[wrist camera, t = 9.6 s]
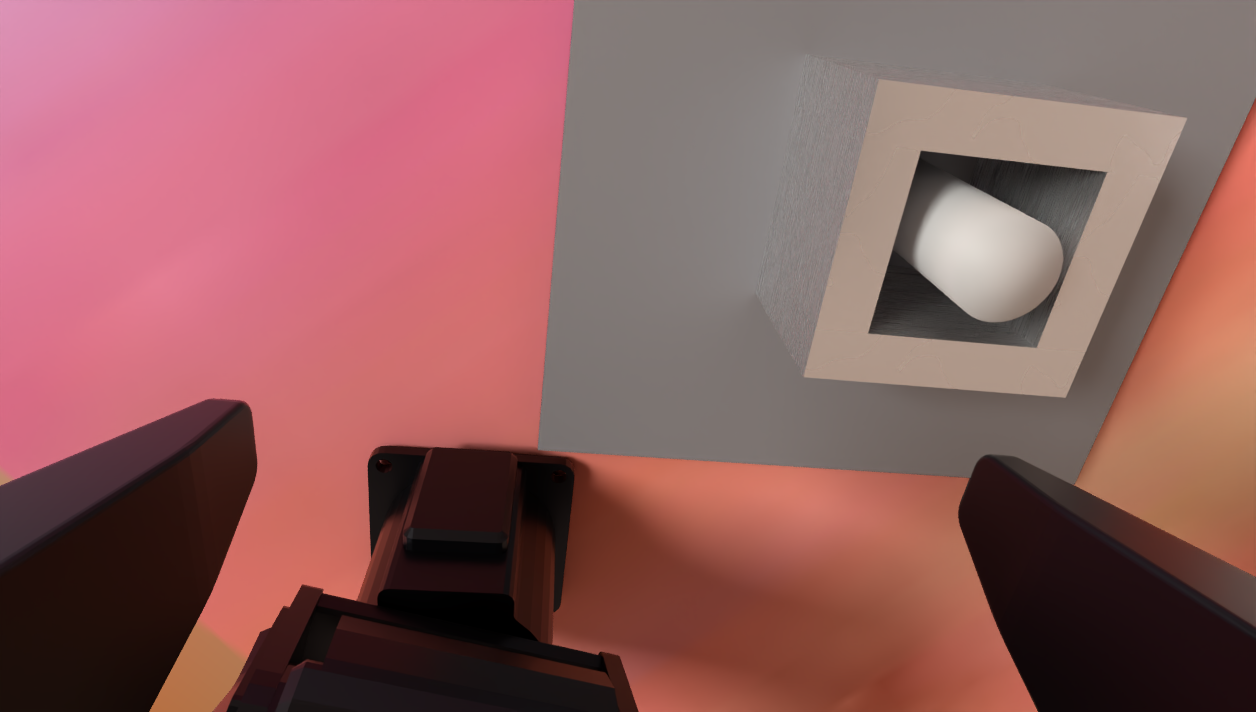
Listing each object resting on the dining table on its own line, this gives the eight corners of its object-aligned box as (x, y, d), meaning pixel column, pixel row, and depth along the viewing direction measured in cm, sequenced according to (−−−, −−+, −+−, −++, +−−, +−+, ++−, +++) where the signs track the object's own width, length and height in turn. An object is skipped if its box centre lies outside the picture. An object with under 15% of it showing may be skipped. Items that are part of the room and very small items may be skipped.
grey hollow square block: (966, 312, 22) (1065, 398, 18) (755, 293, 21) (803, 376, 17) (1046, 85, 19) (1187, 117, 15) (805, 53, 19) (879, 79, 14)
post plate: (1057, 467, 26) (1207, 620, 20) (539, 432, 24) (527, 591, 18) (1332, -143, 18) (1723, -202, 12) (596, -271, 16) (611, -420, 10)
